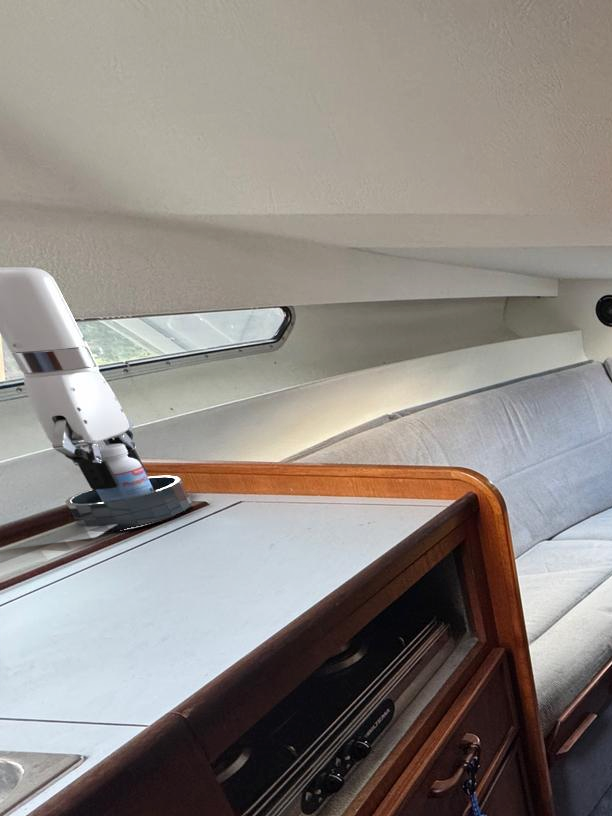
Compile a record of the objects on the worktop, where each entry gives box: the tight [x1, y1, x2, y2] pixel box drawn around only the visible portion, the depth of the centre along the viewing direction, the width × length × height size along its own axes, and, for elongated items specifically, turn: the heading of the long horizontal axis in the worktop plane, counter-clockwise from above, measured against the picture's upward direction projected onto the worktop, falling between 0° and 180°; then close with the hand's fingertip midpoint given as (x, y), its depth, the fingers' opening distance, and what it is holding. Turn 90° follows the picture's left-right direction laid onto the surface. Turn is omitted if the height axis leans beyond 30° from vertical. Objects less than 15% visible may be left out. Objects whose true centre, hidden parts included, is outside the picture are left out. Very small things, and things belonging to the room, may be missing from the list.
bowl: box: [64, 475, 193, 534], centre depth 90 cm, size 13×13×5 cm
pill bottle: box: [84, 444, 154, 502], centre depth 88 cm, size 6×6×11 cm
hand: (120, 480), depth 88 cm, fingers closed on pill bottle, 6 cm apart
